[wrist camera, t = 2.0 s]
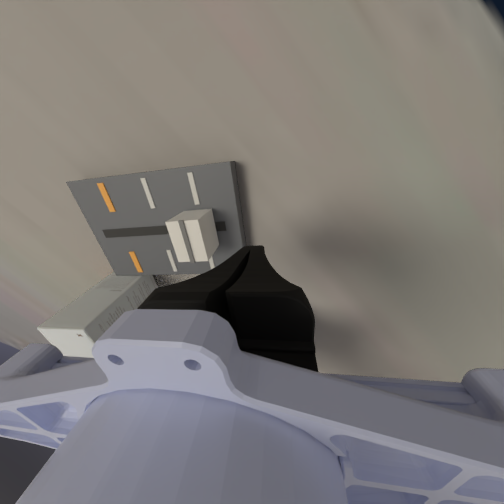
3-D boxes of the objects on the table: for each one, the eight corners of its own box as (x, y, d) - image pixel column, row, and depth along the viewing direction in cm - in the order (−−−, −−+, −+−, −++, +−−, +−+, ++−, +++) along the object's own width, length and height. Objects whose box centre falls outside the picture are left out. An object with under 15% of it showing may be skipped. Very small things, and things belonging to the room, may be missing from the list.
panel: (248, 264, 24) (246, 273, 22) (127, 267, 27) (115, 275, 25) (234, 161, 18) (229, 161, 16) (83, 179, 21) (64, 182, 19)
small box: (117, 267, 27) (32, 326, 18) (151, 267, 26) (81, 329, 17) (137, 308, 31) (76, 374, 21) (168, 309, 30) (118, 379, 20)
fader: (219, 245, 20) (207, 262, 17) (194, 246, 21) (177, 263, 17) (211, 208, 18) (196, 219, 15) (184, 210, 19) (163, 222, 16)
